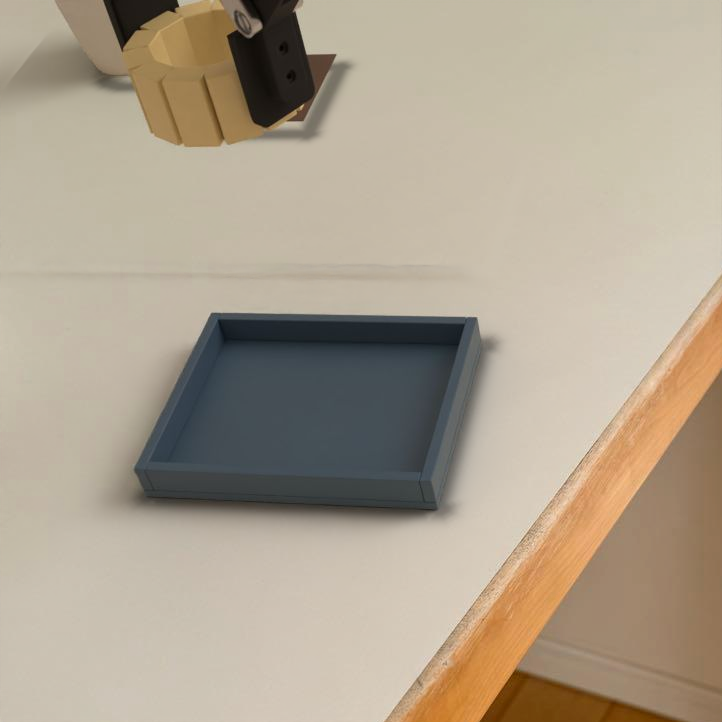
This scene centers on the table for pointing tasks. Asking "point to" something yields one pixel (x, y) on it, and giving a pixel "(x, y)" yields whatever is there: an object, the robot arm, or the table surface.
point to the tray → (315, 410)
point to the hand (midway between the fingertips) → (222, 85)
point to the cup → (94, 33)
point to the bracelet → (191, 78)
